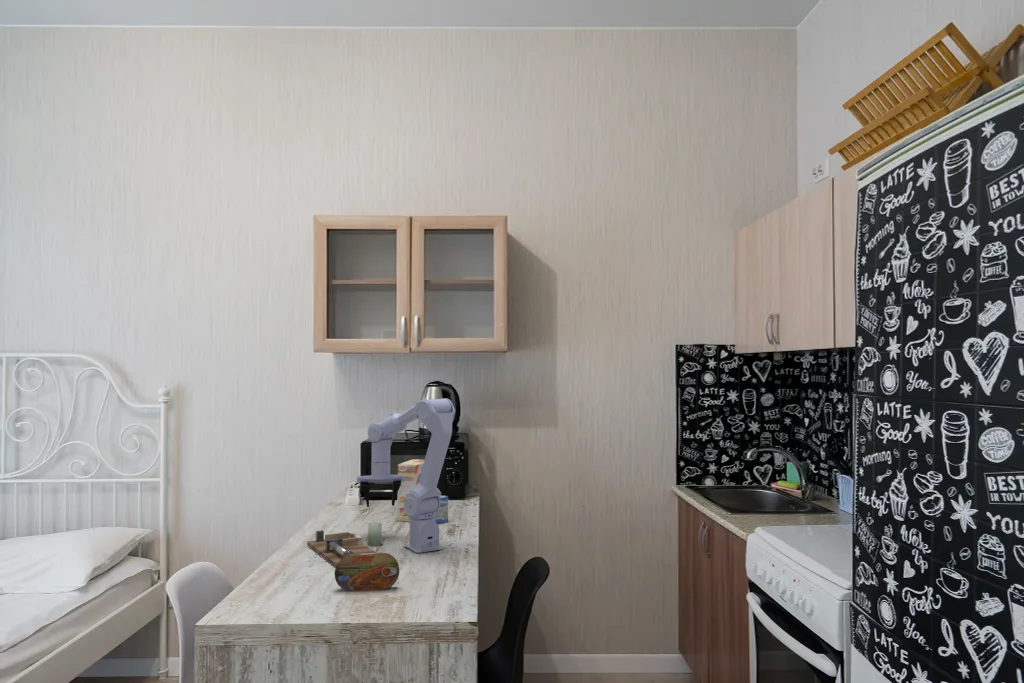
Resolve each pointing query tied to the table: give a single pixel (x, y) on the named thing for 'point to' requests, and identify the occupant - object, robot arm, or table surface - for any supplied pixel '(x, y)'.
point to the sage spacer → (374, 534)
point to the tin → (367, 572)
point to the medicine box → (442, 511)
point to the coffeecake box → (407, 484)
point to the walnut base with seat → (348, 543)
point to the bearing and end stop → (327, 542)
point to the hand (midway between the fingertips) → (380, 505)
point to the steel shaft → (340, 549)
